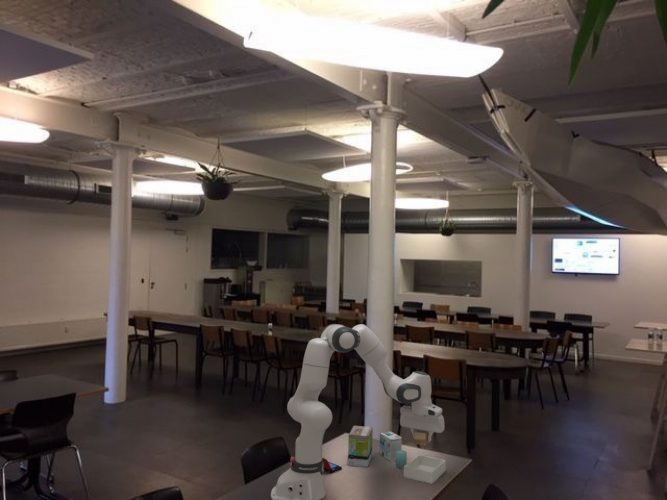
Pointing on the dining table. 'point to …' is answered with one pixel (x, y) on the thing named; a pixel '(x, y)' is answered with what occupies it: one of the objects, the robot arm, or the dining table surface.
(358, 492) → the dining table surface
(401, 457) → the teal cylinder
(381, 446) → the light bulb box
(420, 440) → the oak cube
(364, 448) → the tea box
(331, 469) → the handheld game console
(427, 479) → the grey tote
